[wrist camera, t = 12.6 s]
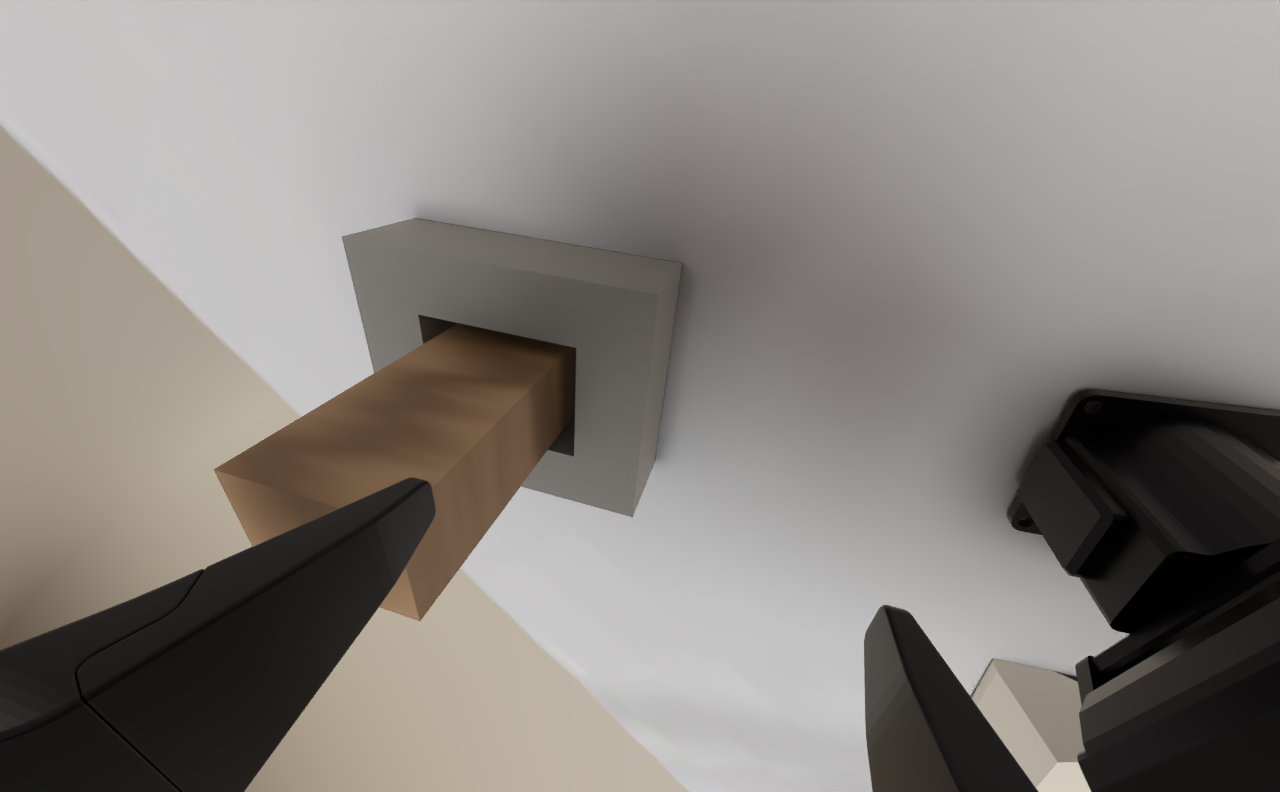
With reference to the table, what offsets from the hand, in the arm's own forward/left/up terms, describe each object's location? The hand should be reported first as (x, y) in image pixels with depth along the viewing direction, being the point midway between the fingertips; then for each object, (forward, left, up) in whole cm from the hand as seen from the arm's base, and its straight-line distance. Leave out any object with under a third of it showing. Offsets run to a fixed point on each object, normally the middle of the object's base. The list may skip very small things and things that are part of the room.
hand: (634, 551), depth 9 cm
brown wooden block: (+8, +2, -12) cm, 15 cm away
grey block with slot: (+8, +2, -12) cm, 15 cm away
